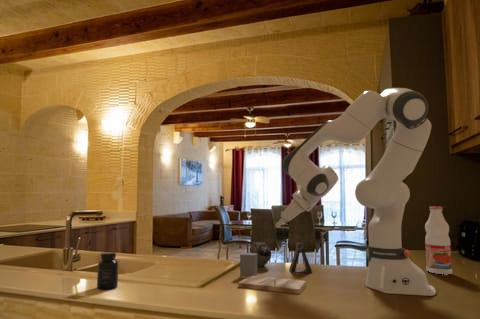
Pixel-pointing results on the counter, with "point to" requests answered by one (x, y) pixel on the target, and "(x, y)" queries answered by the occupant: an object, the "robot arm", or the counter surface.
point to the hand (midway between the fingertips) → (277, 225)
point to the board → (273, 284)
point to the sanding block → (248, 265)
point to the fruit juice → (437, 243)
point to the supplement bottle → (107, 271)
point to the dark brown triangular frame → (295, 260)
